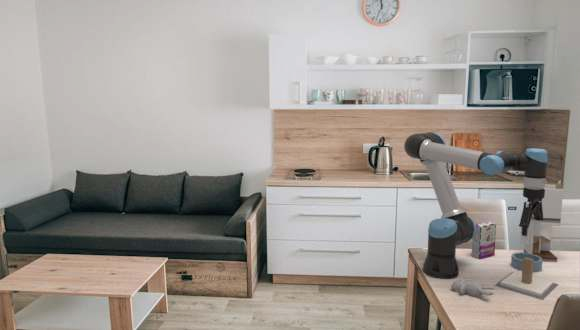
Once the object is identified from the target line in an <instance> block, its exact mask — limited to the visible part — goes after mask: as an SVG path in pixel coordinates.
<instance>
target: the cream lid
mask: <svg viewBox="0 0 580 330" xmlns="http://www.w3.org/2000/svg"><path fill="white" fill-rule="evenodd" d="M533 263H534V259H532V258H528V257H525V258H524V259H523V268H522V271H521V273H519V272H516V271H514V272H513V271H512V272H513V273H512V272H511V273H512V274H511V275H509V274H508V275H509V276H508V275H507V276H508V277H507V278H505V277H504V278H505V279H504V278H503V279H504V280H503V281H501V280H500V281H501V282H500V281H499V282H500V285H502V286H506V287H509V288H513V289H516V290H520V291H523V292H526V293H530V294H533V295H537V296H540V297H541V296H542V295H543V294H544V293H545V292H546V291H547V290H548V289H549V288H550V287H551V286H552V285H553V283H554V282H553V281H550V280H546V279H542V278H538V277H534V276H533V273H534V272H533Z"/></svg>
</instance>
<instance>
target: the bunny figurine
mask: <svg viewBox="0 0 580 330" xmlns="http://www.w3.org/2000/svg"><path fill="white" fill-rule="evenodd" d="M450 286H451V287H450V288H451V290H453V291H454V292H456V293H459V294H462V295H463V294H466V295H468V296H471V297H477V296H479V295H481V294H482V295H485V296H491V294H492V292H491V290H493V291H494V290H495V286H494V285H482V284H481V283H480V281H478V280H476V279H469V280H468V279H467V280H462V279H458V280H456V281H453V282H452V283H451V284H450Z"/></svg>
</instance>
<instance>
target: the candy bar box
mask: <svg viewBox="0 0 580 330" xmlns="http://www.w3.org/2000/svg"><path fill="white" fill-rule="evenodd" d="M475 224H476V229H477V230H476V234H475V236H474V237H473V238H472V239H471V240H472V242H471V244H472V245H471V257H473V258H475V259H478V260H483V259H485V258H489V257H492V256H493V257H494V256H495V250H496V234H497V233H496V230H497V223H495V222H493V221H484V222H483V221H482V222H480V223H479V222H478V223H475Z"/></svg>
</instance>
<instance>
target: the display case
mask: <svg viewBox="0 0 580 330" xmlns="http://www.w3.org/2000/svg"><path fill="white" fill-rule="evenodd" d="M543 189H545V197H544V198H543V199H542V209H543V218H544V220H543V221H542V220H540V221H541V228H540V236H534V235H532V230H533V220H536V219H534V216H533V215H532V218H531V221H530V224H529V228H530V230H529V243H528V244H524V243H523V253H530V254H534V255H537V256H539V257H541V258H542V260H543V261H542V262H548V263H557V262H558V257H557V256H555V254H554V253H552V252H551V242H552V234H553V232H552V231H553V226H559V227H560V226H561V221H562V220H561V218H562V210H563V208H562V207H563V198H564V197H563V196H564V189H563V188H556V185H555V184H545V188H543Z"/></svg>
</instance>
